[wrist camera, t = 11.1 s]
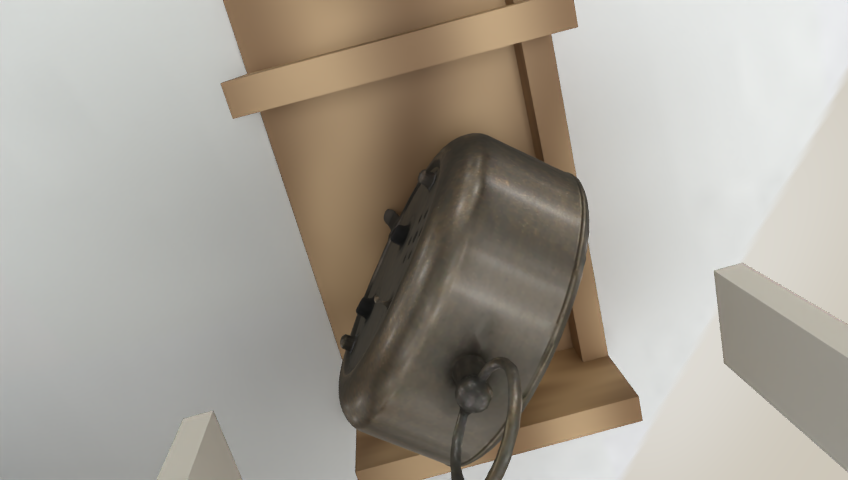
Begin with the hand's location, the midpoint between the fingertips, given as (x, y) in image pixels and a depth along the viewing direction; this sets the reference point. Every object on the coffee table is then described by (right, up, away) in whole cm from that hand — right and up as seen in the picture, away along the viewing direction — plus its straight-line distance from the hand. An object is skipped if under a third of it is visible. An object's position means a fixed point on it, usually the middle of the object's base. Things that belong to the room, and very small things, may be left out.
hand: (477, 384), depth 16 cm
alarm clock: (-1, +4, +12) cm, 13 cm away
